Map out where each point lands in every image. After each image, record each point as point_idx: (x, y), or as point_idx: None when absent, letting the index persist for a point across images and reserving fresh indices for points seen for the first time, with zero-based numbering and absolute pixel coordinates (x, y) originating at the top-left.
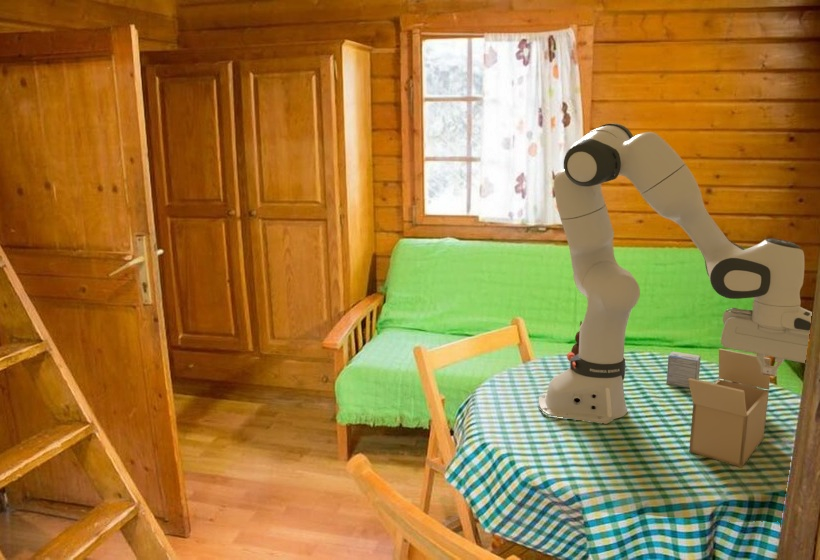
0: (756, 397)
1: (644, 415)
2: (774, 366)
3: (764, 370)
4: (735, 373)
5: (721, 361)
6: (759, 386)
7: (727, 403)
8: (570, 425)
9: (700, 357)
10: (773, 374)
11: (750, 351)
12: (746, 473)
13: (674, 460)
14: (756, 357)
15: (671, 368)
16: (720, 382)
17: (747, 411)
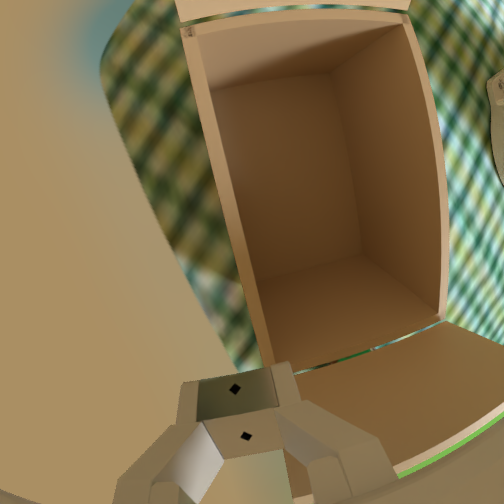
0: (299, 337)
1: (474, 178)
2: (182, 442)
3: (263, 386)
4: (417, 357)
5: (493, 349)
6: (306, 374)
7: None
8: (500, 45)
9: None
10: (190, 387)
11: (479, 448)
12: (178, 73)
13: None
14: (379, 445)
15: None
16: (432, 311)
17: (203, 67)
